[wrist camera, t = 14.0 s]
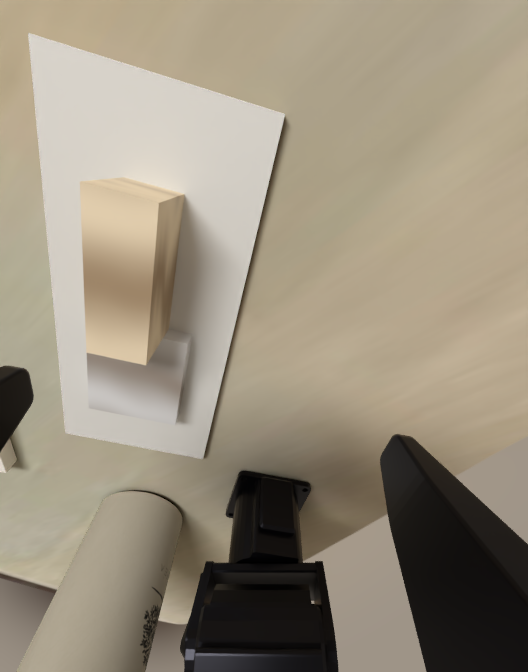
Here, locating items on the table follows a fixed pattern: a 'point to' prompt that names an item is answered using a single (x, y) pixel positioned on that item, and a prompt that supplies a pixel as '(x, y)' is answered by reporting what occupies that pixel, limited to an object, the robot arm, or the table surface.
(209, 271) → the mat
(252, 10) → the table surface
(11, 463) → the tile
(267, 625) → the robot arm
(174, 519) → the travel mug
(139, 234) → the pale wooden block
